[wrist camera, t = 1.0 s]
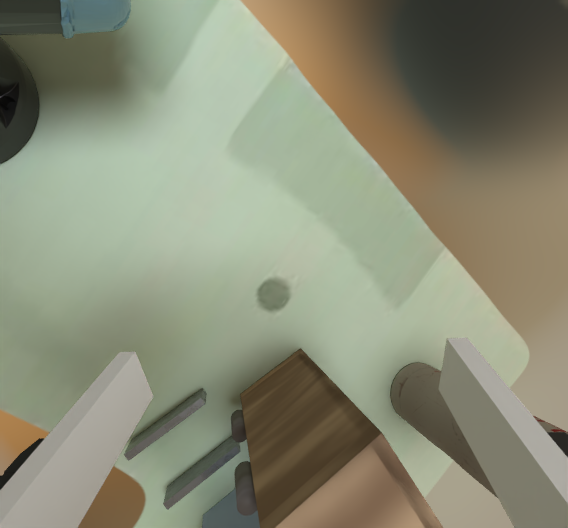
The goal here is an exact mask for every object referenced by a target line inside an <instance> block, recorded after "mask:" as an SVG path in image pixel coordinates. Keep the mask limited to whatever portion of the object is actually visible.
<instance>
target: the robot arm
mask: <svg viewBox="0 0 568 528" xmlns="http://www.w3.org/2000/svg"><path fill="white" fill-rule="evenodd" d="M130 11H131V1H130V0H0V35H19V34H62V35H63V36H64V37H65V38H72V37H73V35H74V34H78V33H92V32H107V31H115V30H117V29H120V28H121V27H123V26H124V25H125V23H126V22H127V20H128V18H129V15H130ZM38 110H39V101H38V94H37V89H36V85H35V83H34V80H33V78H32V75H31V73H30V72H29V70H28V68H27V67H26V65H25V64H24V62H23V61H22V60H21V58H20V57H19V56H18V55H17V54H16V53H15V52H14V51H13V50H12V49H11V48H10V46H9V45H8V44H7V43H6V42H5V41H4V40H3V39H2V38H1V37H0V163H2V162H4V161H6V160H7V159H9V158H10V157H12V156H13V155H14V154H16V153H17V152H18V151H19V150H20V149H21V148H22V147H23V146H24V144H25V143H26V142H27V141H28V139H29V138H30V136H31V134H32V132H33V130H34V128H35V125H36V122H37V118H38ZM439 391H440V393H441V395H442V397H443V398H444V400H445V402H446V404H447V406H448V407H449V409H450V411H451V413H452V415H453V417H454V418H455V420H456V422H457V424H458V426H459V428H460V429H461V431H462V433H463V435H464V437H465V438H466V440H467V442H468V444H469V446H470V448H471V449H472V451H473V453H474V455H475V457H476V459H477V460H478V462H479V464H480V466H481V468H482V469H483V471H484V473H485V475H486V477H487V479H488V480H489V482H490V484H491V486H492V488H493V489H494V491H495V493H496V495H497V497H498V499H499V500H500V502H501V504H502V506H503V508H504V509H505V511H506V513H507V515H508V516H509V519H510V520H511V522H512V524H513V526H514V528H568V434H567V433H565V432H546V431H545V430H544V429H543V428H542V426H541V425H540V424H539V423H538V422H537V420H536V419H535V418H534V417H533V416H532V414H531V413H530V412H529V411H528V410H527V408H526V407H525V406H524V405H523V404H522V402H521V401H520V400H519V399H518V398H517V397H516V395H515V394H514V393H513V392H512V390H511V389H510V388H509V387H508V386H507V385H506V383H505V382H504V381H503V380H502V379H501V377H500V376H499V375H498V374H497V373H496V371H495V370H494V369H493V368H492V367H491V365H490V364H489V363H488V362H487V361H486V359H485V358H484V357H483V356H482V355H481V353H480V352H479V351H478V350H477V349H476V347H475V346H474V345H473V344H472V343H471V342H470V340H469V339H468V338H447V341H446V347H445V353H444V359H443V365H442V371H441V377H440V383H439ZM152 398H153V394H152V391H151V389H150V386H149V384H148V381H147V379H146V376H145V374H144V372H143V369H142V367H141V364H140V362H139V359H138V357H137V354H136V352H119V353H118V354H117V355H116V356H115V358H114V359H113V360H112V361H111V362H110V363H109V365H108V366H107V367H106V368H105V369H104V370H103V372H102V373H101V374H100V375H99V376H98V377H97V379H96V380H95V381H94V382H93V383H92V384H91V386H90V387H89V388H88V389H87V390H86V391H85V393H84V394H83V395H82V396H81V397H80V398H79V399H78V401H77V402H76V403H75V404H74V405H73V406H72V408H71V409H70V410H69V411H68V412H67V413H66V415H65V416H64V417H63V418H62V419H61V420H60V422H59V423H58V424H57V425H56V426H55V427H54V429H53V430H52V431H51V432H50V433H49V434H48V435H47V437H46V438H45V439H38V440H37V441H36V442H34V443H33V444H32V445H31V446H29V447H28V448H27V449H26V450H25V451H23V452H22V453H21V454H20V455H19V456H18V457H17V458H16V459H15V460H14V461H13V463H12V464H11V465H10V466H9V467H8V468H7V469H6V470H5V472H4V474H3V475H2V476H0V528H78V526H79V524H80V522H81V521H82V519H83V517H84V516H85V514H86V512H87V510H88V509H89V507H90V505H91V504H92V502H93V500H94V498H95V497H96V495H97V493H98V491H99V490H100V488H101V486H102V485H103V483H104V481H105V479H106V477H107V476H108V474H109V472H110V471H111V469H112V467H113V466H114V464H115V462H116V460H117V459H118V457H119V455H120V454H121V452H122V450H123V448H124V447H125V445H126V443H127V441H128V440H129V438H130V436H131V434H132V433H133V431H134V429H135V428H136V426H137V424H138V422H139V421H140V419H141V417H142V415H143V414H144V412H145V410H146V409H147V407H148V405H149V403H150V402H151V400H152Z"/></svg>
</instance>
